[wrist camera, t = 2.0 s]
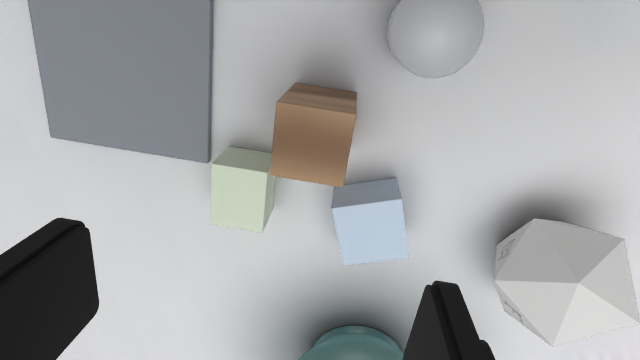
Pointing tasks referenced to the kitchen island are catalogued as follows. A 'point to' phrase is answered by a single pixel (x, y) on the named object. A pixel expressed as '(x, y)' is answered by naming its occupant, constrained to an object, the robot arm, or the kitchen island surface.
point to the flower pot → (354, 345)
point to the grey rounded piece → (435, 35)
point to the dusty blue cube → (370, 222)
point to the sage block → (242, 189)
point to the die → (565, 281)
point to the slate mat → (127, 73)
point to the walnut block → (313, 134)
